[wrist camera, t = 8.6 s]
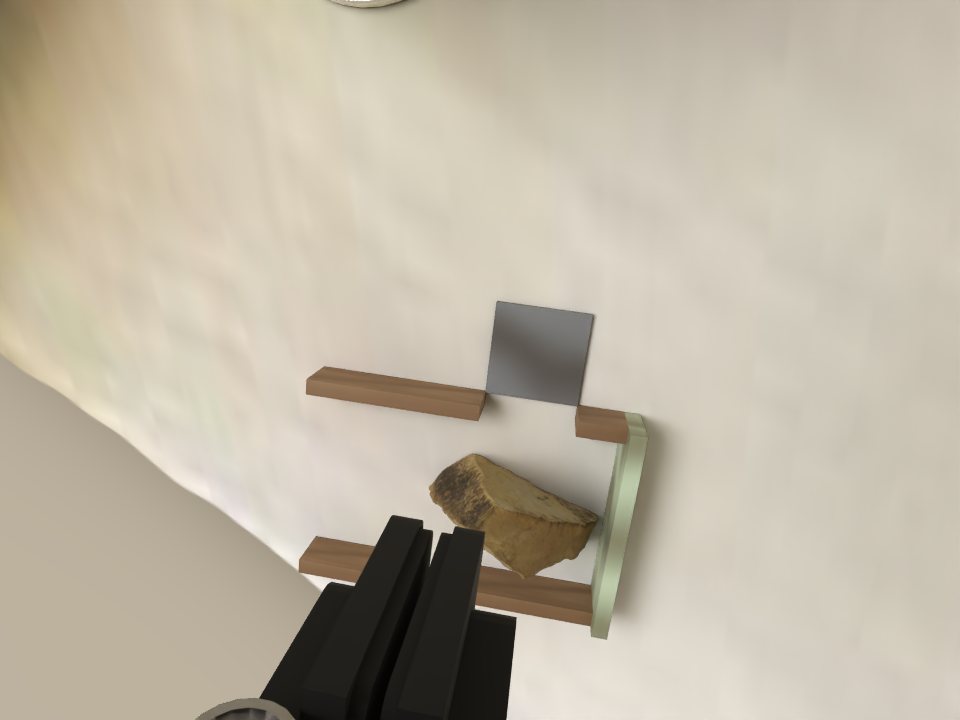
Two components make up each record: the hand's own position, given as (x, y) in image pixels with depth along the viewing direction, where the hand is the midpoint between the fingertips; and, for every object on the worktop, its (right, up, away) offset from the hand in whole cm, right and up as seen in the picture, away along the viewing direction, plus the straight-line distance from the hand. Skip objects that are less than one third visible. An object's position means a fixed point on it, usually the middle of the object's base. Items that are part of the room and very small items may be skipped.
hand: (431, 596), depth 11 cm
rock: (+3, -5, +32) cm, 32 cm away
